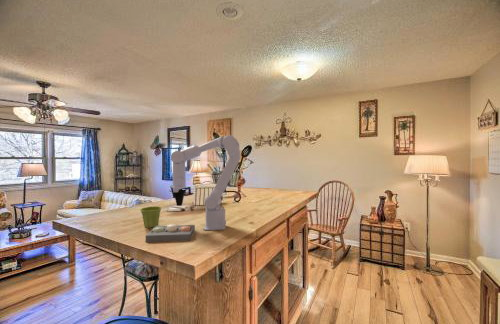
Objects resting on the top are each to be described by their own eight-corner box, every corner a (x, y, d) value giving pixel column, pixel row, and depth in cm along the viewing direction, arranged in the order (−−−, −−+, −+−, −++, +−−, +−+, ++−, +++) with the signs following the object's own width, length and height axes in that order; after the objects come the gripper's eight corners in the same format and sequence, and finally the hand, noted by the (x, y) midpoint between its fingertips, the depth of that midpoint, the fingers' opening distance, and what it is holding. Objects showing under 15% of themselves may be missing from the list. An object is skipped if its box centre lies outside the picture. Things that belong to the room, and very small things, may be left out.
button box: (194, 230, 101) (194, 224, 101) (190, 240, 89) (189, 233, 89) (155, 232, 100) (155, 225, 100) (145, 242, 88) (145, 234, 88)
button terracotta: (191, 232, 97) (190, 225, 97) (189, 235, 93) (189, 228, 93) (181, 233, 97) (181, 226, 97) (179, 236, 93) (179, 228, 93)
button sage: (164, 233, 96) (164, 226, 96) (161, 236, 92) (161, 229, 92) (155, 233, 96) (155, 226, 96) (151, 237, 92) (151, 229, 92)
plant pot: (154, 230, 103) (153, 211, 103) (135, 228, 105) (135, 210, 105) (165, 224, 112) (165, 206, 112) (148, 223, 114) (148, 206, 114)
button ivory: (177, 230, 97) (177, 223, 97) (175, 233, 93) (175, 226, 93) (168, 231, 97) (168, 224, 96) (165, 234, 93) (165, 226, 92)
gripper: (174, 175, 113) (174, 202, 113) (166, 178, 99) (166, 209, 99) (188, 175, 114) (188, 202, 114) (182, 177, 99) (182, 208, 100)
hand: (179, 205), depth 107 cm, fingers closed
